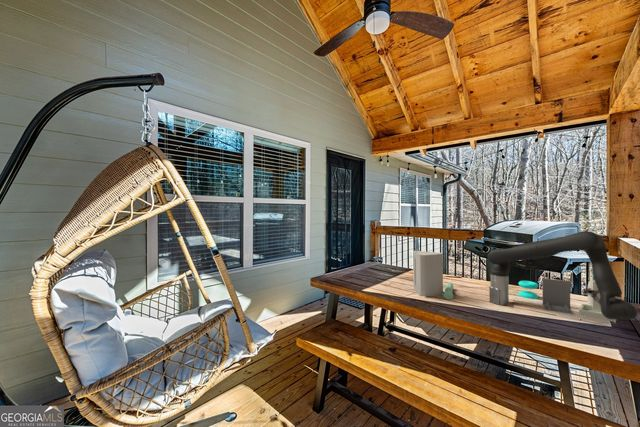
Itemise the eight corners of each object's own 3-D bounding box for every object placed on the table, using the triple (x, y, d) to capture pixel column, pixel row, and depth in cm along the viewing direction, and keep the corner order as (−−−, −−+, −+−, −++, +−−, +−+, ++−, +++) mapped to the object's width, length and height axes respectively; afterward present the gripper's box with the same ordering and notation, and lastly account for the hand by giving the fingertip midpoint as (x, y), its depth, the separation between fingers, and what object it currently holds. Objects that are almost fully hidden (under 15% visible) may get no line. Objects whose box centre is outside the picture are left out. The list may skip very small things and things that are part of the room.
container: (447, 280, 194) (445, 288, 172) (455, 283, 192) (454, 293, 170) (443, 287, 195) (441, 296, 173) (452, 291, 193) (451, 301, 171)
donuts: (515, 279, 177) (532, 280, 175) (515, 294, 177) (532, 295, 175) (523, 284, 167) (541, 284, 165) (523, 299, 167) (541, 300, 165)
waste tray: (615, 324, 131) (615, 317, 131) (578, 316, 141) (578, 309, 141) (616, 316, 140) (616, 310, 140) (582, 309, 150) (582, 303, 150)
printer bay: (574, 316, 141) (574, 286, 141) (545, 311, 148) (544, 283, 148) (569, 309, 151) (569, 281, 151) (542, 304, 158) (542, 278, 158)
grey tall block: (606, 309, 136) (606, 278, 136) (593, 307, 139) (592, 277, 139) (603, 306, 141) (603, 276, 141) (590, 304, 144) (589, 275, 144)
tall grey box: (408, 294, 183) (407, 253, 182) (415, 288, 194) (414, 250, 194) (437, 299, 171) (437, 256, 170) (443, 293, 183) (442, 253, 182)
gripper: (628, 294, 124) (616, 285, 138) (585, 289, 133) (578, 281, 147) (628, 310, 124) (616, 300, 138) (585, 304, 133) (578, 295, 147)
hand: (596, 290), depth 142 cm, fingers closed on grey tall block, 5 cm apart
